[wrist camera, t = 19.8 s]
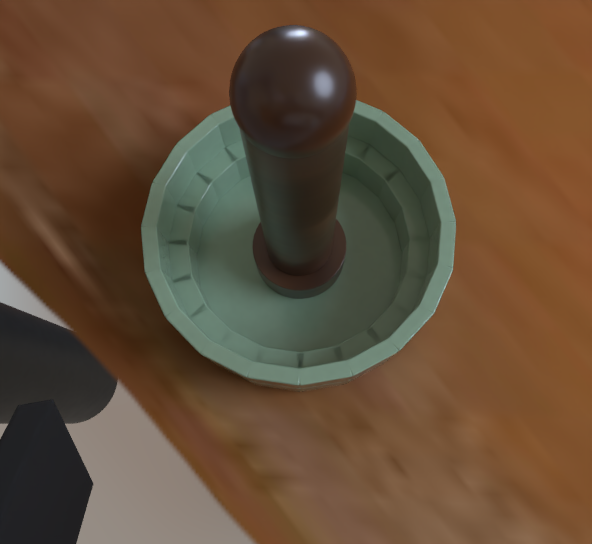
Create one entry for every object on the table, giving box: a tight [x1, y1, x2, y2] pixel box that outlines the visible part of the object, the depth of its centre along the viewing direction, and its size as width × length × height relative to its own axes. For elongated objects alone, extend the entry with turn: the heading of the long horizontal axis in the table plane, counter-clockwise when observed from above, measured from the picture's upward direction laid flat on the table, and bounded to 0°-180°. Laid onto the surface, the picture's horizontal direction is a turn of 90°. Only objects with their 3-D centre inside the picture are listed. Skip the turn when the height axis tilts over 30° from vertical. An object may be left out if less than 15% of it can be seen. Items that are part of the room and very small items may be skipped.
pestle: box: [229, 25, 356, 299], centre depth 22 cm, size 5×5×18 cm
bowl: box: [141, 100, 456, 392], centre depth 29 cm, size 16×16×6 cm
